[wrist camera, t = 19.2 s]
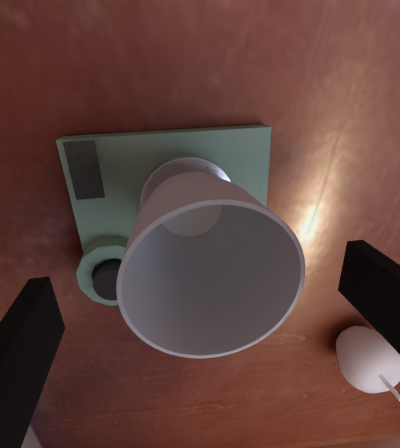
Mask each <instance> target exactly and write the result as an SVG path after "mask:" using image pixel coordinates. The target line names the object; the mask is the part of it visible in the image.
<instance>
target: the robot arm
mask: <svg viewBox="0 0 400 448" xmlns="http://www.w3.org/2000/svg"><path fill="white" fill-rule="evenodd" d="M338 291H339V292H340V293H341V294H342V295H343V296H344V297H345V298H346V299H347V300H348V301H349V302H350V303H351V304H352V305H353V306H354V307H355V308H356V309H357V310H358V311H359V313H360V314H361V315H362V316H363V317H364V318H365V319H366V320H367V321H368V322H369V323H370V324H371V325H372V326H373V327H374V328H375V329H376V330H377V331H378V332H379V333H380V334H381V335H382V337H383V338H384V339H385V340H386V341H387V342H388V343H389V344H390V345H391V346H392V347H393V348H394V349H395V350H396V351H397V352H398V353H399V354H400V265H399V264H397V263H396V262H394V261H393V260H391V259H390V258H388V257H387V256H386V255H384V254H383V253H381V252H380V251H378V250H377V249H375V248H374V247H372V246H371V245H369V244H368V243H367V242H365V241H364V240H357V241H348V242H347V246H346V251H345V256H344V261H343V267H342V272H341V277H340V282H339V287H338ZM64 330H65V326H64V322H63V319H62V316H61V313H60V310H59V307H58V303H57V300H56V297H55V294H54V291H53V287H52V284H51V281H50V278H49V277H42V278H34V279H29V280H28V281H27V283H26V284H25V286H24V287H23V289H22V290H21V292H20V293H19V295H18V296H17V298H16V299H15V301H14V302H13V304H12V305H11V307H10V308H9V310H8V311H7V313H6V314H5V316H4V317H3V319H2V320H1V322H0V448H21V446H22V443H23V440H24V437H25V435H26V432H27V429H28V427H29V424H30V421H31V419H32V416H33V413H34V411H35V408H36V405H37V403H38V400H39V397H40V394H41V392H42V389H43V386H44V384H45V381H46V378H47V376H48V373H49V370H50V368H51V365H52V362H53V360H54V357H55V354H56V351H57V349H58V346H59V343H60V341H61V338H62V335H63V333H64Z"/></svg>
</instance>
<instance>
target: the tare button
mask: <svg viewBox="0 0 400 448" xmlns="http://www.w3.org/2000/svg"><path fill="white" fill-rule="evenodd" d="M121 262H122V261H120V260H109V261H106V262H104V263H102V264H101V265H100V266H99V267H98V269H97V271H96V275H95V278H94V281H93V288H94V291H95V292H96V294H97V295H98V296H100V297H101V298H103V299H106V300H111V301H114V300H117V291H116V285H117V277H118V272H119V268H120V265H121Z"/></svg>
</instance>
